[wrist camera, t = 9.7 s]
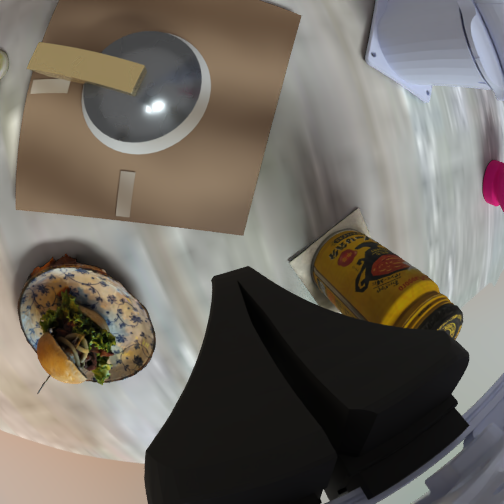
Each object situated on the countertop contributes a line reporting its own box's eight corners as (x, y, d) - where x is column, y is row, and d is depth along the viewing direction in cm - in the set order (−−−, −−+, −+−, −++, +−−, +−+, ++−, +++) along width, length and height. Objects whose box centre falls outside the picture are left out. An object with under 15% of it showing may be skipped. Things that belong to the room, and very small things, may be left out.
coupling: (215, 62, 13) (228, 46, 10) (171, 154, 15) (172, 161, 12) (79, 22, 9) (62, 2, 6) (37, 114, 11) (9, 113, 8)
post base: (72, -15, 8) (67, -22, 7) (296, 19, 14) (303, 13, 13) (20, 206, 14) (13, 211, 13) (240, 231, 20) (244, 237, 19)
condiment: (357, 206, 22) (476, 276, 11) (383, 272, 26) (469, 344, 16) (288, 261, 22) (381, 371, 12) (327, 318, 26) (400, 409, 16)
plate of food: (153, 374, 24) (159, 442, 17) (38, 359, 19) (21, 421, 13) (161, 261, 19) (164, 331, 13) (15, 243, 15) (-34, 299, 9)
